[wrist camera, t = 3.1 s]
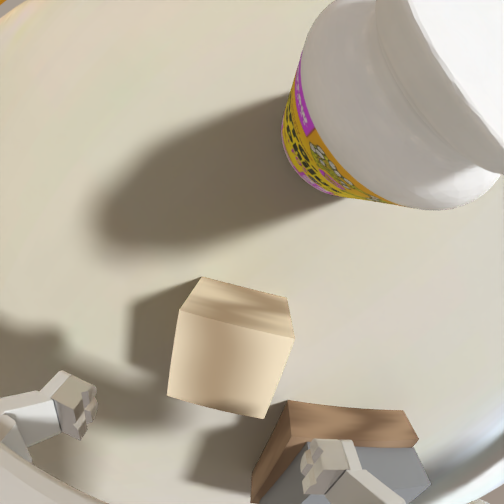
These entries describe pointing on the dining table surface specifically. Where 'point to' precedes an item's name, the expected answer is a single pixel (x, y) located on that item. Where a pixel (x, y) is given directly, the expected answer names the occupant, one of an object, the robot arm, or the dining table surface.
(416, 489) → the tower top
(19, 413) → the robot arm
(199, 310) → the birch block
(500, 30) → the supplement bottle
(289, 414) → the tower base
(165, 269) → the dining table surface
